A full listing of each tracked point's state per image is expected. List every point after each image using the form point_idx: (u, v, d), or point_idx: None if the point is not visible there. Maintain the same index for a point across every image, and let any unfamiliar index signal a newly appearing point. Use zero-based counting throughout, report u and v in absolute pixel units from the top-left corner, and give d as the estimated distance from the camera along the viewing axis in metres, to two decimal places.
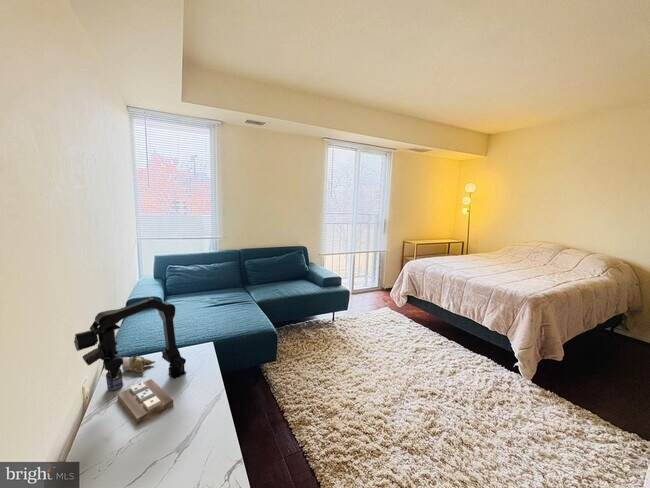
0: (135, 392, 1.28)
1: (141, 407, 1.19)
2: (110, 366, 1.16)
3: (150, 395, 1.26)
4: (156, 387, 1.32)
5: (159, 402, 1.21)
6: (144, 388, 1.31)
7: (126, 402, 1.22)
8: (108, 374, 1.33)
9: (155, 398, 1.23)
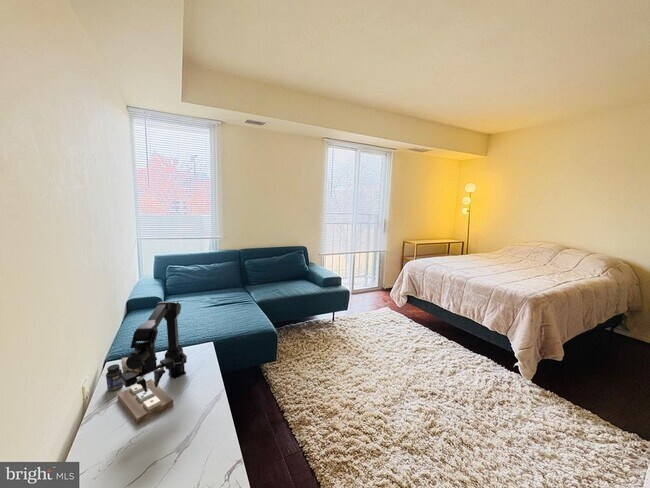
0: (135, 392, 1.28)
1: (141, 407, 1.19)
2: (122, 381, 1.13)
3: (150, 395, 1.26)
4: None
5: (159, 402, 1.21)
6: None
7: (126, 402, 1.22)
8: (108, 374, 1.33)
9: (155, 398, 1.23)
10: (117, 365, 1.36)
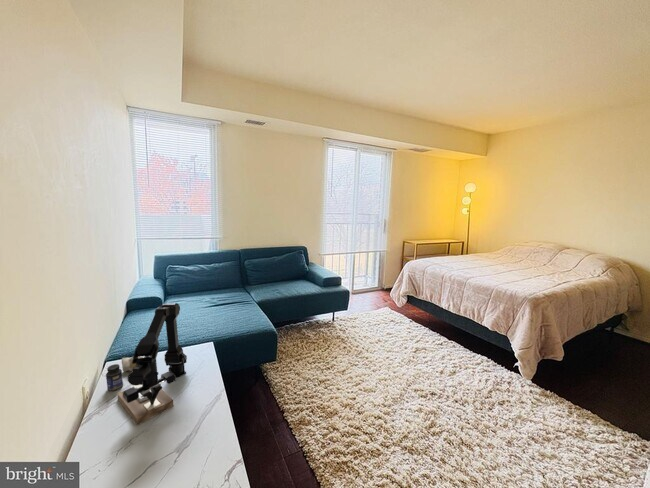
0: None
1: (141, 407, 1.19)
2: (123, 396, 1.14)
3: None
4: None
5: None
6: None
7: (126, 402, 1.22)
8: (108, 374, 1.33)
9: (155, 401, 1.23)
10: (117, 365, 1.36)
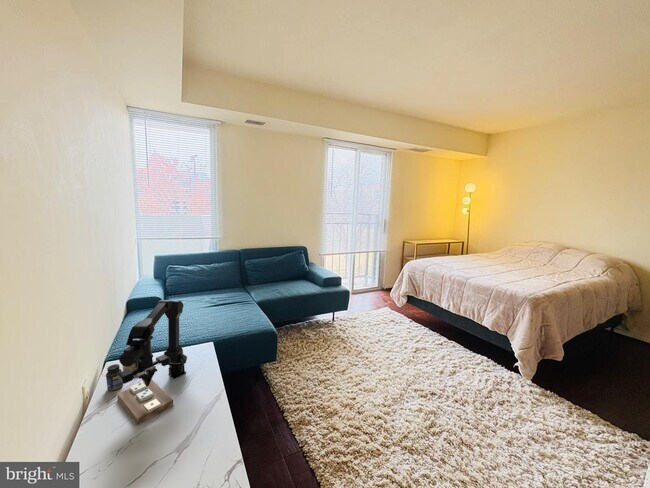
0: (135, 392, 1.28)
1: (141, 407, 1.19)
2: (119, 378, 1.15)
3: (150, 395, 1.26)
4: (156, 387, 1.32)
5: None
6: (144, 388, 1.31)
7: (126, 402, 1.22)
8: (108, 374, 1.33)
9: (155, 401, 1.23)
10: (117, 365, 1.36)
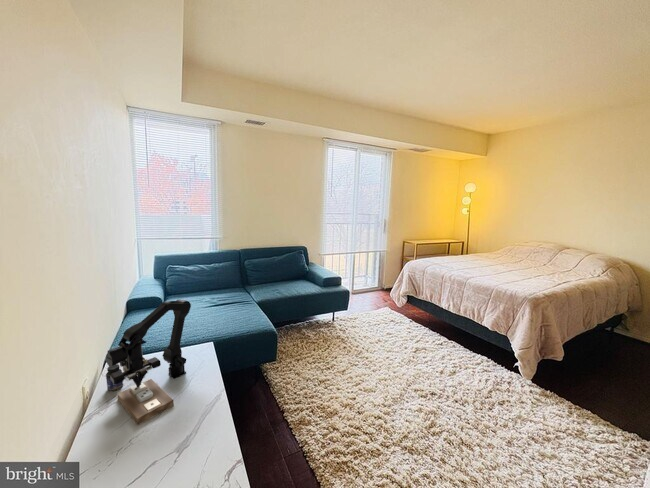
0: (135, 392, 1.28)
1: (141, 407, 1.19)
2: (111, 379, 1.23)
3: (150, 395, 1.26)
4: (156, 387, 1.32)
5: None
6: (144, 388, 1.31)
7: (126, 402, 1.22)
8: (108, 374, 1.33)
9: (155, 401, 1.23)
10: (117, 365, 1.36)
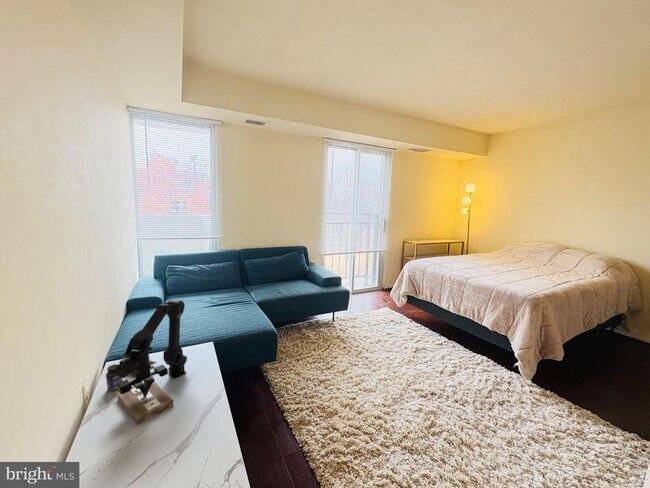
0: None
1: (141, 407, 1.19)
2: (117, 388, 1.19)
3: None
4: (156, 387, 1.32)
5: None
6: None
7: (126, 402, 1.22)
8: (108, 374, 1.33)
9: (155, 401, 1.23)
10: (117, 365, 1.36)
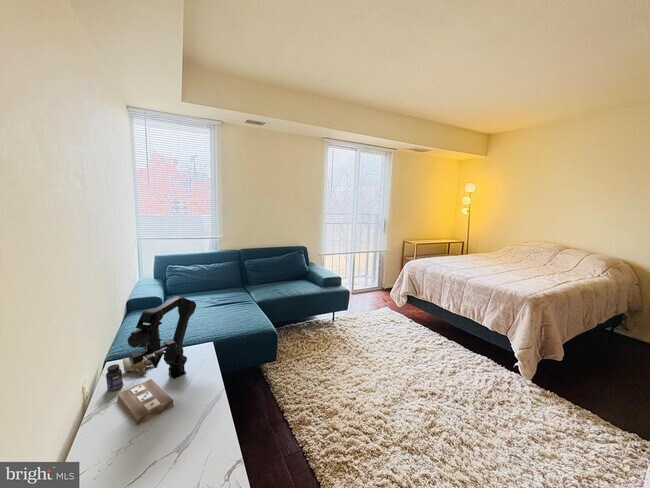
0: None
1: (141, 407, 1.19)
2: (129, 359, 1.26)
3: None
4: (156, 387, 1.32)
5: None
6: None
7: (126, 402, 1.22)
8: (108, 374, 1.33)
9: (155, 401, 1.23)
10: (117, 365, 1.36)
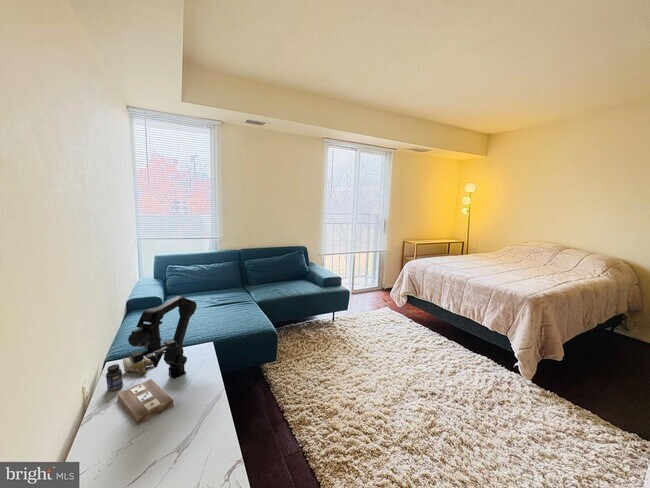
0: None
1: (141, 407, 1.19)
2: (130, 358, 1.26)
3: None
4: (156, 387, 1.32)
5: None
6: None
7: (126, 402, 1.22)
8: (108, 374, 1.33)
9: (155, 401, 1.23)
10: (117, 365, 1.36)
